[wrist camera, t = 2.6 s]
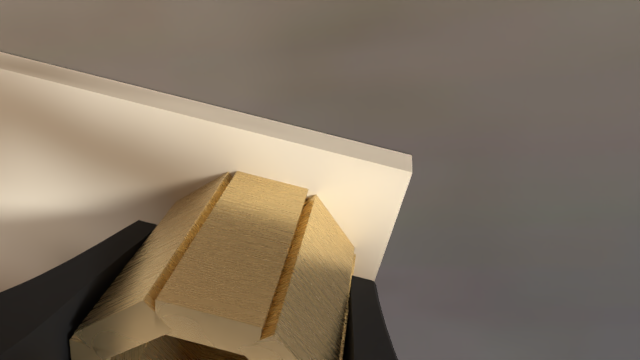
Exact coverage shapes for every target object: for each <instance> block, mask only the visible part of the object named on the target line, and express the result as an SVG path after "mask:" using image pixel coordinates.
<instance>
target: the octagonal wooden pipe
mask: <svg viewBox="0 0 640 360" xmlns="http://www.w3.org/2000/svg"><path fill="white" fill-rule="evenodd" d="M307 194H308V189H307V188H303V187H299V186H295V185H291V184H287V183H283V182H279V181H275V180H271V179H267V178H263V177H260V176H256V175H252V174H248V173H244V172H240V171H237V172H236V173H235V175H234V177H232V176H231V174H230V173H229V172H227V173H225V174H223V175H222V176H220V177H218V178H216V179H215V180H213V181H211V182H209V183H207V184H206V185H204V186H202V187H200V188H199V189H197V190H195V191H193V192H192V193H190V194H188V195H186V196H184V197H183V198H181V199H179V200H177V201H176V202H175V203H174V204H173V206H172V207H171V208H170V210H169V211H168V212H167V213H166V215H165V216H164V217H163V219H162V220H161V221H160V222H159V224H158V225H157V226H156V228H155V229H154V230H153V231H152V233H151V234H150V235H149V237H148V238H147V239H146V240H145V242H144V243H143V244H142V246H141V247H140V248H139V249H138V251H137V252H136V253H135V255H134V256H133V257H132V258H131V260H130V261H129V262H128V264H127V265H126V266H125V267H124V269H123V270H122V271H121V273H120V274H119V275H118V276H117V278H116V279H115V280H114V282H113V283H112V284H111V285H110V287H109V288H108V289H107V291H106V292H105V293H104V294H103V296H102V297H101V298H100V300H99V301H98V302H97V303H96V305H95V306H94V307H93V309H92V310H91V311H90V312H89V314H88V315H87V316H86V318H85V319H84V320H83V321H82V323H81V324H80V325H79V327H78V328H77V329H76V330H75V332H74V335H73V336H72V337H71V339H70V340H69V341H70V351H71V360H342V357H343V350H344V342H345V334H346V327H347V319H348V311H349V295H350V287H351V280H352V275H353V274H354V266H355V259H356V254H354V248H355V247H354V246H353V244H352V243H351V242H350V240H349V239H348V237H347V236H346V235H345V233H344V232H343V230H342V229H341V228H340V226H339V225H338V224H337V222H336V221H335V219H334V218H333V217H332V215H331V214H330V212H329V211H328V210H327V208H326V207H325V205H324V204H323V203H322V201H321V200H320V199H319V197H318V196H317V194H316V195H314V196H312V197H310V198H308V199H306V198H307Z"/></svg>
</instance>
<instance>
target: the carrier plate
mask: <svg viewBox="0 0 640 360" xmlns="http://www.w3.org/2000/svg"><path fill="white" fill-rule="evenodd" d="M237 171H240V172H244V173H248V174H252V175H256V176H260V177H263V178H267V179H271V180H275V181H279V182H283V183H287V184H291V185H295V186H299V187H303V188H307V189H308V194H307V198H306V199H308V198H310V197H312V196H314V195H316V194H317V196H318V197H319V199H320V200H321V201H322V203H323V204H324V205H325V207H326V208H327V210H328V211H329V212H330V214H331V215H332V217H333V218H334V219H335V221H336V222H337V224H338V225H339V226H340V228H341V229H342V230H343V232H344V233H345V235H346V236H347V237H348V239H349V240H350V242H351V243H352V244H353V246H354V247H355V248H354V254H356V259H355V266H354V274H353V276H357V277H361V278H365V279H369V280H372V281H375V278H376V275H377V272H378V269H379V266H380V264H381V261H382V258H383V255H384V252H385V249H386V246H387V244H388V241H389V238H390V235H391V232H392V229H393V226H394V224H395V221H396V218H397V215H398V212H399V209H400V207H401V204H402V201H403V198H404V195H405V192H406V189H407V187H408V184H409V181H410V178H411V175H412V155H408V154H404V153H401V152H397V151H393V150H389V149H385V148H381V147H377V146H373V145H369V144H365V143H361V142H357V141H353V140H349V139H345V138H341V137H337V136H333V135H329V134H325V133H321V132H317V131H313V130H309V129H305V128H301V127H297V126H293V125H289V124H285V123H281V122H277V121H273V120H269V119H265V118H261V117H257V116H253V115H249V114H245V113H241V112H237V111H233V110H229V109H225V108H221V107H217V106H214V105H210V104H206V103H202V102H198V101H194V100H190V99H186V98H182V97H178V96H174V95H170V94H166V93H162V92H158V91H154V90H150V89H146V88H142V87H138V86H134V85H130V84H126V83H122V82H118V81H114V80H110V79H106V78H102V77H98V76H94V75H90V74H86V73H82V72H78V71H74V70H70V69H66V68H62V67H58V66H54V65H50V64H46V63H42V62H38V61H34V60H30V59H27V58H23V57H19V56H15V55H11V54H7V53H3V52H0V292H2V291H5V290H7V289H9V288H12V287H14V286H17V285H19V284H21V283H24V282H26V281H28V280H30V279H32V278H35V277H37V276H39V275H41V274H43V273H45V272H47V271H49V270H51V269H53V268H55V267H57V266H59V265H60V264H62V263H64V262H66V261H68V260H70V259H72V258H74V257H76V256H77V255H79V254H81V253H83V252H84V251H86V250H88V249H90V248H91V247H93V246H95V245H97V244H98V243H100V242H102V241H104V240H105V239H107V238H109V237H110V236H112V235H114V234H115V233H117V232H119V231H120V230H122V229H124V228H125V227H127V226H129V225H131V224H133V223H134V222H136V221H138V220H141V221H145V222H149V223H152V224H156V225H158V224H159V222H160V221H161V220H162V219H163V217H164V216H165V215H166V213H167V212H168V211H169V210H170V208H171V207H172V206H173V204H174V203H175V202H176V201H177V200H179V199H181V198H183V197H184V196H186V195H188V194H190V193H192V192H193V191H195V190H197V189H199V188H200V187H202V186H204V185H206V184H207V183H209V182H211V181H213V180H215V179H216V178H218V177H220V176H222V175H223V174H225V173H227V172H229V173H230V174H231V176H232V177H234V175H235V173H236V172H237Z"/></svg>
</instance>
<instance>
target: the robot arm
mask: <svg viewBox="0 0 640 360" xmlns="http://www.w3.org/2000/svg"><path fill="white" fill-rule="evenodd" d="M156 226H157V225H156V224H152V223H149V222H145V221H141V220H138V221H136V222H134V223H133V224H131V225H129V226H127V227H125V228H124V229H122V230H120V231H119V232H117V233H115V234H114V235H112V236H110V237H109V238H107V239H105V240H104V241H102V242H100V243H98V244H97V245H95V246H93V247H91V248H90V249H88V250H86V251H84V252H83V253H81V254H79V255H77V256H76V257H74V258H72V259H70V260H68V261H66V262H64V263H62V264H60V265H59V266H57V267H55V268H53V269H51V270H49V271H47V272H45V273H43V274H41V275H39V276H37V277H35V278H32V279H30V280H28V281H26V282H24V283H21V284H19V285H17V286H14V287H12V288H9V289H7V290H5V291H2V292H0V360H71V351H70V341H69V340H70V339H71V337H72V336H73V335H74V332H75V330H76V329H77V328H78V327H79V325H80V324H81V323H82V321H83V320H84V319H85V318H86V316H87V315H88V314H89V312H90V311H91V310H92V309H93V307H94V306H95V305H96V303H97V302H98V301H99V300H100V298H101V297H102V296H103V294H104V293H105V292H106V291H107V289H108V288H109V287H110V285H111V284H112V283H113V282H114V280H115V279H116V278H117V276H118V275H119V274H120V273H121V271H122V270H123V269H124V267H125V266H126V265H127V264H128V262H129V261H130V260H131V258H132V257H133V256H134V255H135V253H136V252H137V251H138V249H139V248H140V247H141V246H142V244H143V243H144V242H145V240H146V239H147V238H148V237H149V235H150V234H151V233H152V231H153V230H154V229H155V228H156ZM342 360H398V359H397V356H396V353H395V351H394V348H393V345H392V342H391V339H390V336H389V333H388V330H387V327H386V324H385V321H384V317H383V314H382V310H381V306H380V302H379V298H378V293H377V288H376V284H375V282H374V281H372V280H369V279H365V278H361V277H357V276H353V275H352V280H351V287H350V295H349V311H348V319H347V327H346V334H345V342H344V350H343V357H342Z"/></svg>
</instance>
